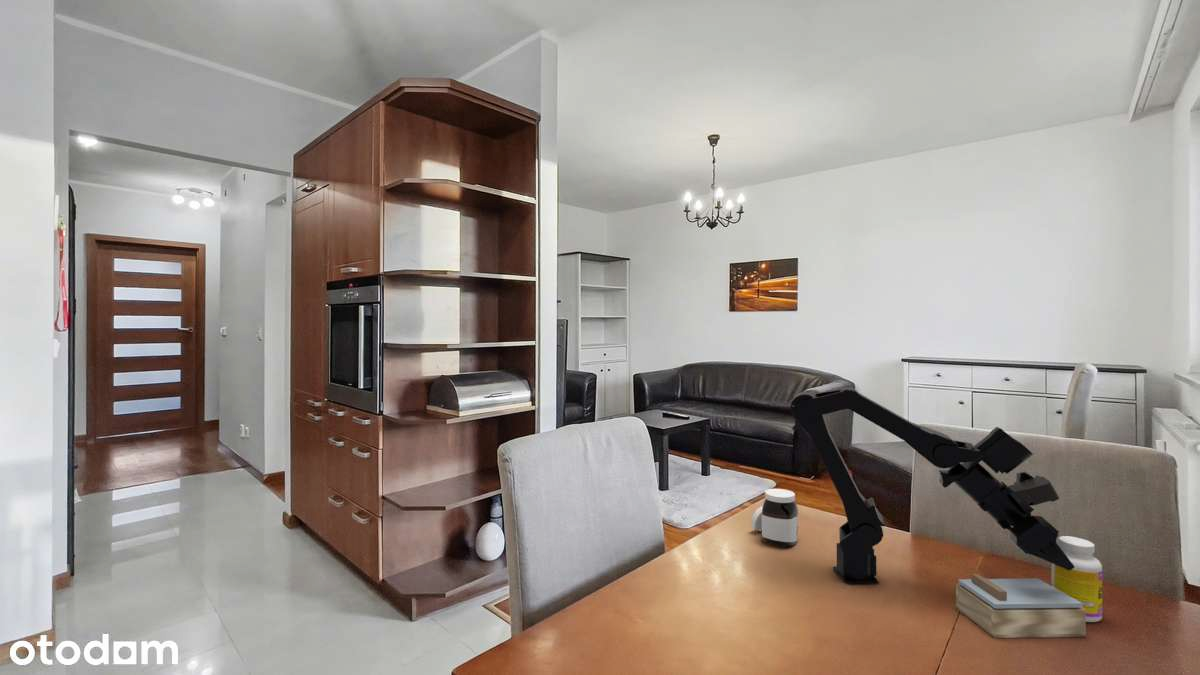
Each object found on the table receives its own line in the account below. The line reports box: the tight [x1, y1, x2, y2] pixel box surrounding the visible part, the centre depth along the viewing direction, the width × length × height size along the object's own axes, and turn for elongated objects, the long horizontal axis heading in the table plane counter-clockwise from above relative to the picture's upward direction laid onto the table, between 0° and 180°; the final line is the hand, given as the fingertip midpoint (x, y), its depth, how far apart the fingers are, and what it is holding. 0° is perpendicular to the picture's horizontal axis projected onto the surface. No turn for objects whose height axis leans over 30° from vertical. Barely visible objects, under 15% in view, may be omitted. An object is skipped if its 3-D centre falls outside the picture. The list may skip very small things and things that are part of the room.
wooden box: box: [955, 583, 1087, 639], centre depth 89 cm, size 15×9×4 cm, turn 90°
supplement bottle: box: [1051, 535, 1103, 623], centre depth 91 cm, size 7×7×13 cm
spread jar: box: [750, 488, 799, 547], centre depth 126 cm, size 12×11×12 cm
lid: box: [957, 573, 1083, 609], centre depth 89 cm, size 14×9×2 cm, turn 90°
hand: (1060, 557), depth 92 cm, fingers open, 9 cm apart
